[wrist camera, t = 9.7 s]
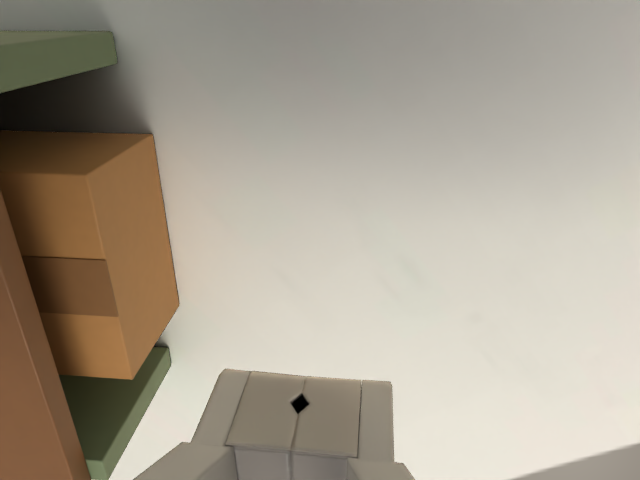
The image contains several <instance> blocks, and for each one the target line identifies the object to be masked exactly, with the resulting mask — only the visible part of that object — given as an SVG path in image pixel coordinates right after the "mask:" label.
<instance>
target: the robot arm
mask: <svg viewBox="0 0 640 480" xmlns="http://www.w3.org/2000/svg"><path fill="white" fill-rule="evenodd" d="M360 405H361V407H360ZM133 480H415V479H414V477H413V476H412V474H411V473H410V472H409V470H408V469H407V468H406V466H405V465H404V463H397V462H394V435H393V395H392V384H391V382H389V381H374V380H362V387H361V380H355V379H341V378H327V377H312V376H307V377H306V376H298V375H288V374H278V373H269V372H259V371H243V370H234V369H224V370H223V371H222V372H221V374H220V375H219V377H218V379H217V382H216V384H215V386H214V389H213V391H212V393H211V396H210V398H209V400H208V403H207V405H206V408H205V410H204V412H203V415H202V417H201V419H200V422H199V424H198V426H197V429H196V431H195V433H194V436H193V438H192V441H191V443H188V442H181V443H180V444H179V445H178V446H176V447H175V448H174V449H172V450H171V451H170V452H168V453H167V454H166V455H164V456H163V457H162V458H161V459H159V460H158V461H157V462H155V463H154V464H153V465H151V466H150V467H149V468H147V469H146V470H145V471H144V472H142V473H141V474H140V475H138V476H137V477H136V478H134V479H133Z"/></svg>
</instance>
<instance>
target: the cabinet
mask: <svg viewBox="0 0 640 480" xmlns="http://www.w3.org/2000/svg"><path fill="white" fill-rule="evenodd" d="M114 64H117V56H116V50H115V45H114V39H113V34H112V32H110V31H0V93H3V92H7V91H11V90H15V89H19V88H23V87H27V86H31V85H35V84H39V83H43V82H47V81H51V80H55V79H59V78H63V77H67V76H71V75H74V74H78V73H82V72H86V71H90V70H94V69H98V68H102V67H106V66H110V65H114ZM170 366H171V361H170V355H169V349H168V348H163V347H153V348H152V350H151V351H150V353H149V354H148V356H147V358H146V359H145V361H144V362H143V364H142V365H141V367H140V369H139V370H138V372H137V373H136V375H135V377H134V378H133V379H132V380H130V379H116V378H102V377H87V376H73V375H59V374H58V372H57V368H56V365H55V362H54V359H53V356H52V352H51V349H50V346H49V343H48V340H47V336H46V333H45V330H44V327H43V324H42V320H41V317H40V314H39V311H38V308H37V304H36V301H35V298H34V295H33V292H32V289H31V285H30V282H29V279H28V276H27V273H26V269H25V266H24V263H23V260H22V257H21V253H20V250H19V247H18V244H17V241H16V237H15V234H14V231H13V228H12V225H11V221H10V218H9V215H8V212H7V209H6V205H5V202H4V199H3V196H2V193H1V189H0V480H91V479H92V480H108V479H109V478H110V476H111V474H112V472H113V470H114V469H115V467H116V465H117V463H118V461H119V459H120V458H121V456H122V454H123V452H124V450H125V448H126V447H127V445H128V443H129V441H130V439H131V437H132V436H133V434H134V432H135V430H136V428H137V427H138V425H139V423H140V421H141V419H142V417H143V416H144V414H145V412H146V410H147V408H148V406H149V405H150V403H151V401H152V399H153V397H154V396H155V394H156V392H157V390H158V388H159V386H160V385H161V383H162V381H163V379H164V377H165V375H166V374H167V372H168V370H169V368H170Z"/></svg>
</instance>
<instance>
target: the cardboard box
mask: <svg viewBox="0 0 640 480" xmlns="http://www.w3.org/2000/svg"><path fill="white" fill-rule="evenodd" d="M0 189H1V193H2V196H3V199H4V202H5V205H6V209H7V212H8V215H9V218H10V221H11V225H12V228H13V231H14V234H15V237H16V241H17V244H18V247H19V250H20V253H21V257H22V260H23V263H24V266H25V269H26V273H27V276H28V279H29V282H30V285H31V289H32V292H33V295H34V298H35V301H36V304H37V308H38V311H39V314H40V317H41V320H42V324H43V327H44V330H45V333H46V336H47V340H48V343H49V346H50V349H51V352H52V356H53V359H54V362H55V365H56V368H57V372H58V374H59V375H73V376H87V377H102V378H116V379H130V380H132V379H133V378H134V377H135V375H136V373H137V372H138V370H139V369H140V367H141V365H142V364H143V362H144V361H145V359H146V358H147V356H148V354H149V353H150V351H151V350H152V348H153V346H154V345H155V343H156V342H157V340H158V339H159V337H160V335H161V334H162V332H163V331H164V329H165V327H166V326H167V324H168V323H169V321H170V319H171V318H172V316H173V315H174V313H175V312H176V310H177V308H178V307H179V301H178V294H177V288H176V281H175V275H174V268H173V262H172V255H171V249H170V243H169V236H168V230H167V223H166V217H165V210H164V204H163V197H162V191H161V184H160V178H159V172H158V165H157V159H156V152H155V146H154V139H153V135H152V134H126V133H86V132H45V131H5V130H0Z"/></svg>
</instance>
